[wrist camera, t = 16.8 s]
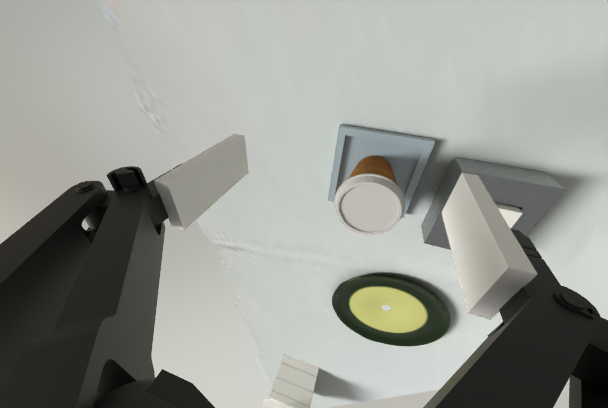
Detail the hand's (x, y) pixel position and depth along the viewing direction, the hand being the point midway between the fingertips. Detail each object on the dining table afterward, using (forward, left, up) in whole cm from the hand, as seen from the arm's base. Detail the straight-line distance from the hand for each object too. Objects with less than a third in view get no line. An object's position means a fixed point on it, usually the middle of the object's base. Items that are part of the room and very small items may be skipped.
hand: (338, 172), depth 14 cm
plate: (+49, +15, -27) cm, 57 cm away
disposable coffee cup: (+11, +3, -26) cm, 28 cm away
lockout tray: (+12, +3, -26) cm, 29 cm away
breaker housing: (+14, +20, -26) cm, 36 cm away
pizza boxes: (+112, -4, -26) cm, 115 cm away
